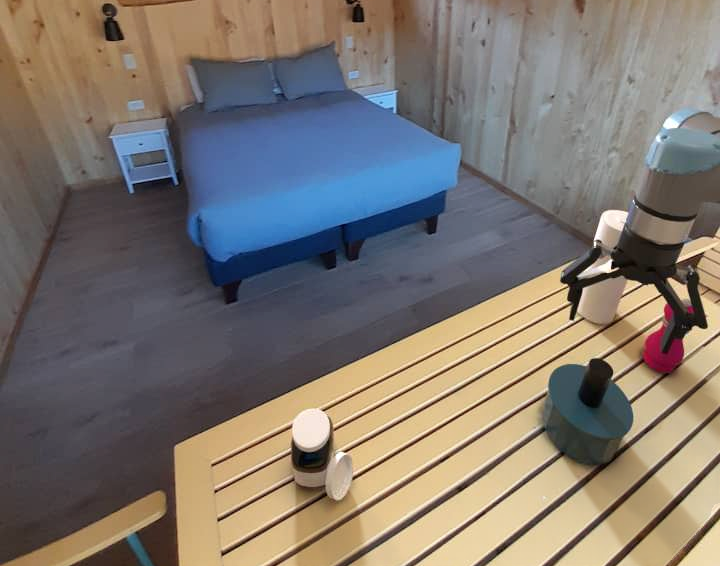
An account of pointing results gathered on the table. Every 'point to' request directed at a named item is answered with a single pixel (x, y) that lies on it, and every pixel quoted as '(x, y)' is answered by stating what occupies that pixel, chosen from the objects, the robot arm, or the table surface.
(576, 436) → the pot
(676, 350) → the pepper mill
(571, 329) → the table surface
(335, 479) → the spread jar
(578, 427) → the lid
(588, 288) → the cylinder container
